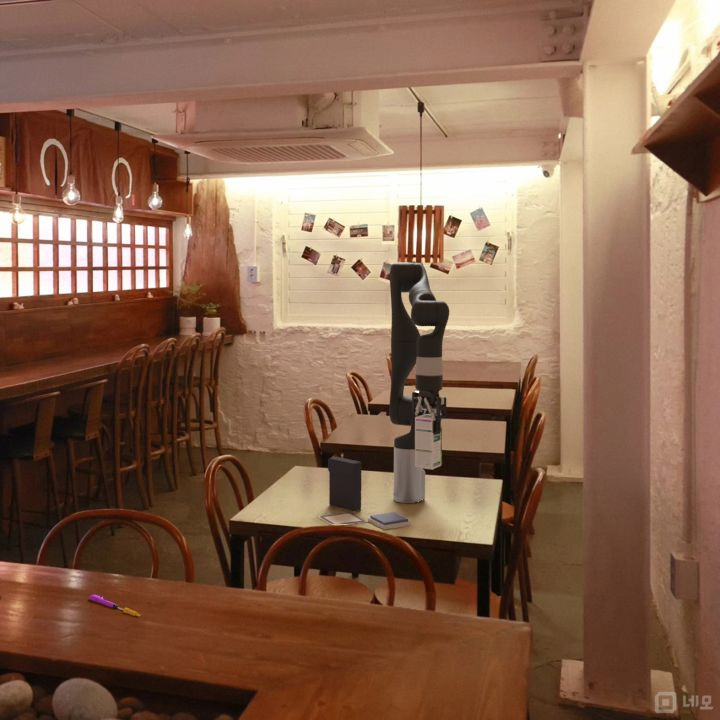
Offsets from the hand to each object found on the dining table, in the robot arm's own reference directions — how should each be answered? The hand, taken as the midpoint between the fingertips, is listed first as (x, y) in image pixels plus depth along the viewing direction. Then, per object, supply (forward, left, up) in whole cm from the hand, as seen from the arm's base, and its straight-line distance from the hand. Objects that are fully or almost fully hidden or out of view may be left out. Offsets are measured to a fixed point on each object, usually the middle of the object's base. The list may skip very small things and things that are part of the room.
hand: (428, 431), depth 219 cm
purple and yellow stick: (+88, +17, -28) cm, 94 cm away
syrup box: (0, 0, -10) cm, 10 cm away
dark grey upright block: (+11, -29, -28) cm, 42 cm away
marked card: (+18, -18, -28) cm, 37 cm away
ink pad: (+7, -9, -28) cm, 30 cm away
